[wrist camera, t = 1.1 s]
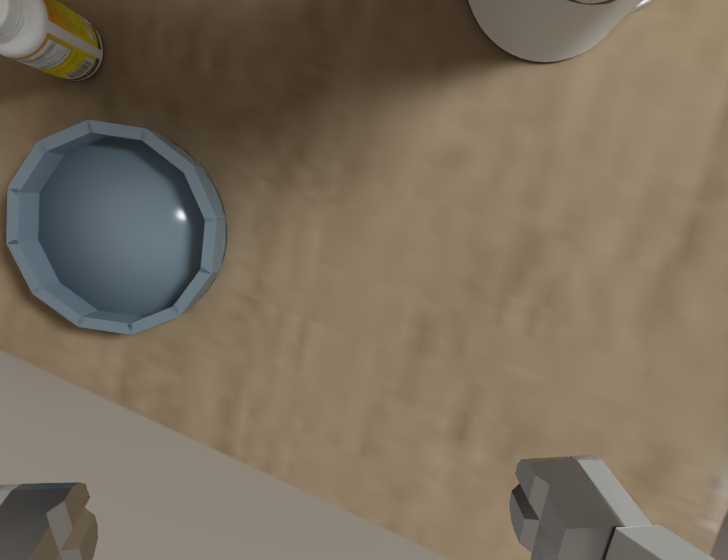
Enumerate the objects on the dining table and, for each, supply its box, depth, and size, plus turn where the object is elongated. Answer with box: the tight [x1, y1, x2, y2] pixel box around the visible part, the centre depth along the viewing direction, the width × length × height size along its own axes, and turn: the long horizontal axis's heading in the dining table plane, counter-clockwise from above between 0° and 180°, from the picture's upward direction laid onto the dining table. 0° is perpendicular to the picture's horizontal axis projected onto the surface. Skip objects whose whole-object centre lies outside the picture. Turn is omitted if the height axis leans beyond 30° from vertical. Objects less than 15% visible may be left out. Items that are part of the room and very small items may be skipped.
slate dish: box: [6, 119, 227, 335], centre depth 42 cm, size 18×18×4 cm
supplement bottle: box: [0, 0, 103, 81], centre depth 36 cm, size 6×6×10 cm
